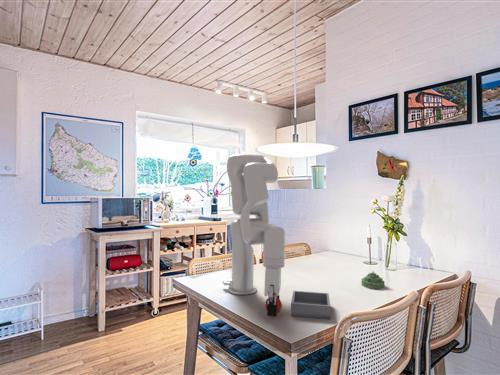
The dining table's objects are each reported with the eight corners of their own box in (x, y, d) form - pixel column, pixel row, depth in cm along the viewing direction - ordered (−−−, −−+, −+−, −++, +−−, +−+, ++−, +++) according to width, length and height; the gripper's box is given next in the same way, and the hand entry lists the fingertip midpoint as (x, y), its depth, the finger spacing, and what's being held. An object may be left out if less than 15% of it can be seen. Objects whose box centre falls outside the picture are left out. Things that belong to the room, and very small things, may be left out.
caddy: (291, 315, 111) (291, 303, 111) (293, 302, 124) (293, 290, 124) (330, 319, 108) (330, 306, 108) (328, 304, 122) (328, 293, 122)
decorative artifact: (357, 283, 149) (370, 290, 140) (357, 269, 149) (370, 274, 140) (375, 282, 152) (389, 288, 142) (375, 267, 152) (389, 273, 142)
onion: (274, 320, 107) (275, 297, 107) (261, 315, 111) (262, 293, 111) (284, 315, 111) (284, 293, 111) (271, 311, 115) (272, 289, 115)
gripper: (266, 256, 120) (266, 301, 120) (259, 267, 103) (259, 319, 103) (286, 257, 119) (285, 302, 119) (282, 268, 102) (281, 321, 101)
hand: (273, 310), depth 111 cm, fingers open, 8 cm apart
